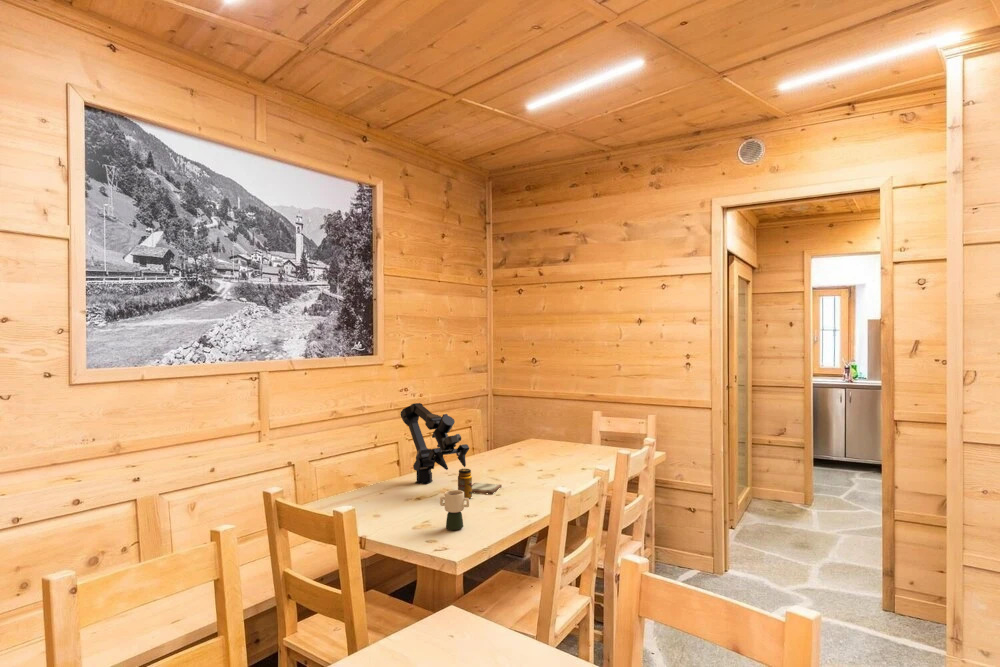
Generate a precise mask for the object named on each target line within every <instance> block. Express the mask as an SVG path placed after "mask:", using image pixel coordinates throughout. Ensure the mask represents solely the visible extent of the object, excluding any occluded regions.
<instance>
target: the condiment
mask: <svg viewBox="0 0 1000 667" xmlns="http://www.w3.org/2000/svg"><path fill="white" fill-rule="evenodd" d="M472 484H473V476H472V470H471V469H470V468H459V470H458V476H457V490H461V491H463V492H464V498H471V497H472V496H473V493H472Z"/></svg>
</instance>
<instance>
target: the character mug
mask: <svg viewBox="0 0 1000 667" xmlns="http://www.w3.org/2000/svg"><path fill="white" fill-rule="evenodd" d="M443 500H444V503H443ZM465 502H466V503H465ZM439 506H441V507H444V511H445V512H447V515H446V521H445V522H446V523H445V527H446V529H447V530H451V531H454V530H460V529H461V528H462V529H463V528H464V520H463V514H462V512H463V511H464V509H465V508H469V507H470V499H469V498H464V492H463V491H461V490H458V489H451V490H447V491H445V492H444V496H440V497H439Z"/></svg>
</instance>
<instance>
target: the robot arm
mask: <svg viewBox="0 0 1000 667" xmlns="http://www.w3.org/2000/svg"><path fill="white" fill-rule="evenodd" d="M400 418H401V419H402V422H403V423H404V424H405V425H406V426H408V429H409V432H410V434H411V438H412V441H413V443H414V446H415V449H416V456H415V461H414V463H413V465H412V467H413V470H414V471H416V481H415V482H414V484H420V483H423V484H422V485H428V484H430V483H432V482H433V471H432V470H434V469H435V465H436V464H437V465H439V466H440V467H442V468H443V469H444V470H446V471H448V470H449V466H448V464H447V462H446V460H445V459H444V455H445V456H446V455H452V454H453V455H455V454H456V456H457V459H458V461H459V462H460V464H461V465H462V466H463V467H464V468H466V467H467V464H466V463H467V462H466V454H467V453H468V451H469V449H470V447H469V444H466V443H465V444H459V446H458V447H457V448H455V447H456V446H457V444H458V443H460V441H462V436H461V434H460V433H456V434H454V435H449V434H448V433H450V431H451V430H452V429H453V426H454V425H455V419H454V418H453V417H452V416H450V415H448V414H447V413H444V414H442V416H441V415H439V414H435V413H432V412H431V411H430V410H429V409H427V408H426V407H425V406H424V405H423V403H421V402H414V403H411V404H410V405H409V406H407V407H404V408H402V410H401V411H400ZM419 419H421V420H423V421H424V422H425V423H424V424H425V427H426V428H427V429H428V430H429V431H431V430H432V431H433V430H434V431H433V432H432V434H431V435H432V436H431V438H432V439H433V438H434V439H435V441H436V443H437V446H436V447H435V448H428V447H427V444H426V442H425V439H424V436H423V433H422V430H421V428H420V424H419Z"/></svg>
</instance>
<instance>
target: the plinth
mask: <svg viewBox="0 0 1000 667" xmlns="http://www.w3.org/2000/svg"><path fill="white" fill-rule="evenodd" d="M502 487H503V486H502V484H499V483H497V484H496V483H485V482H484V483H483V482H474V483H472V492H475V493H474V494H480V493H488V494H487V495H494V494H495V493H497V490H498V489H499V488H500V489H502ZM500 489H499V490H500ZM499 490H498V491H499ZM494 492H495V493H494ZM493 493H494V494H493Z"/></svg>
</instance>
